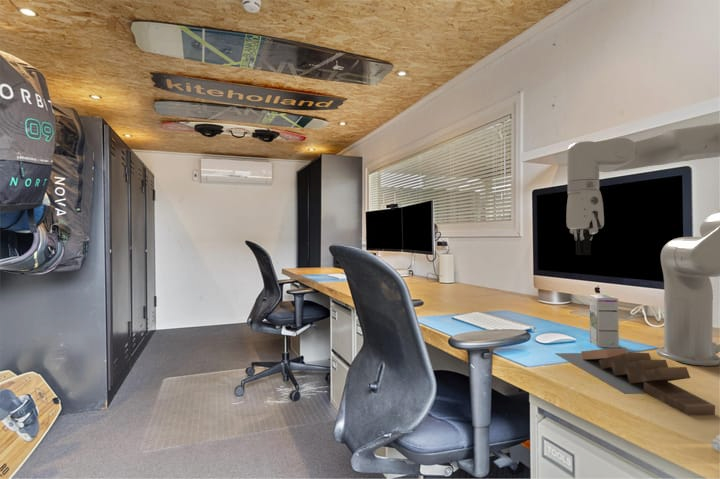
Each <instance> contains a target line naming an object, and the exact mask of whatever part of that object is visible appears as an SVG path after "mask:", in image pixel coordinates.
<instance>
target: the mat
mask: <svg viewBox="0 0 720 479" xmlns="http://www.w3.org/2000/svg"><path fill="white" fill-rule="evenodd" d="M554 355H556V356H558V357H560V358H562V359H563V360H566V362H569V363H570V364H572V365H573V366H576V367H577V368H579V369H580V370H583V371H584V372H585V373H587V374H589V375H591V376H592V377H595V378H596V379H598V380H600V381H601V382H604V383H605V384H607V385H609V387H611V388H613V389H616V390H617V391H619V392H620V393H622V394H624V395H627V394H628V395H631V394H632V395H634V394H635V395H639V394H640V395H642V394H644V395H646V394H647V393H645V392H644V391H643V384H644V383H642V384H630V383H629V380H628V376H614V374H613V371H612V369H601V366H600V363H599V360H602V359H590V360H583V358H582V353H581V352H567V353H565V352H561V353H559V352H554ZM647 395H648V394H647Z"/></svg>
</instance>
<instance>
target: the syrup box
mask: <svg viewBox="0 0 720 479" xmlns="http://www.w3.org/2000/svg"><path fill="white" fill-rule="evenodd" d="M619 320H620V319H619V297H615V296H613V295H609V294H608V295H607V294H589V343H590V344H594V346H596V347H600V348H616V349H620V348H619V347H620V346H619V345H620V344H619V342H620V334H619V333H620V331H619V329H620V328H619V327H620V325H619V322H620V321H619Z"/></svg>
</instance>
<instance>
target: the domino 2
mask: <svg viewBox="0 0 720 479" xmlns="http://www.w3.org/2000/svg"><path fill="white" fill-rule="evenodd" d="M639 360H652V358H651V356H650V352H628V353H625V354H621V355H617V356H613V357H609V358H606V359H602V360H599V363H600V366H601V369H612V367H613V366H617V365H622V364H626V363H630V362H635V361H639Z"/></svg>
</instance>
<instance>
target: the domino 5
mask: <svg viewBox="0 0 720 479" xmlns="http://www.w3.org/2000/svg"><path fill="white" fill-rule="evenodd" d="M643 391H644V392H645V393H647V395H649V396H651V397H653V398H654V399H656V400H658V401H660V402H662V403H664V404H665V405H667V406H668V407H671V408H673V409H675V410H677V411H679V412H681V413H683V414H685V415H687V416H700V415H701V416H708V415H709V416H712V415H713V416H714V415H716V405H715V404H713V403H712V402H709V401H708V400H705V399H703V398H701V397H699V396H698V395H695V394H693V393H691V392H690V391H687V390H686V389H683V388H682V387H681V386H678V385H675V384H674V383H672V382H671V381H653V382H644V384H643Z"/></svg>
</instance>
